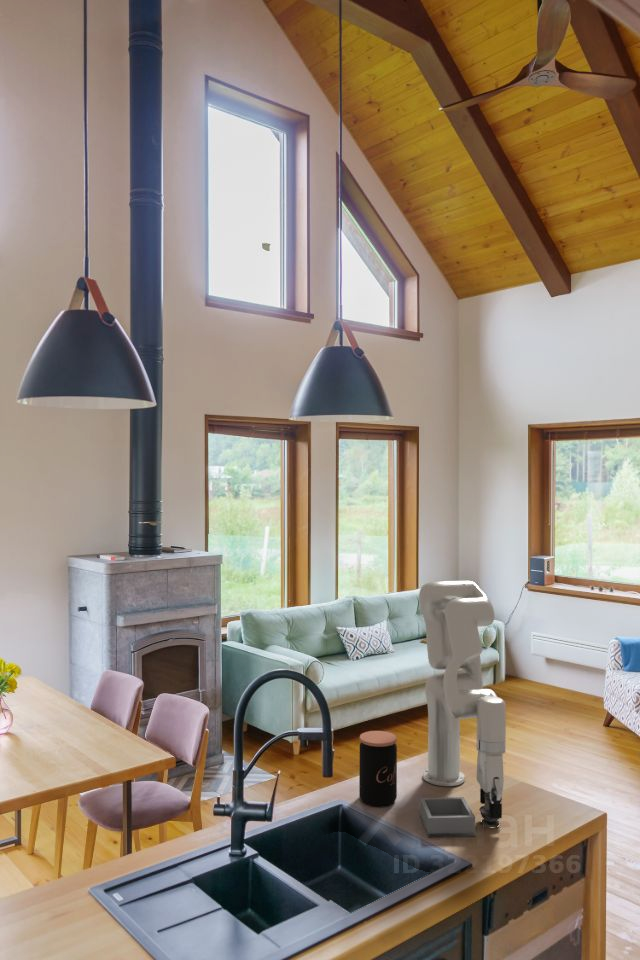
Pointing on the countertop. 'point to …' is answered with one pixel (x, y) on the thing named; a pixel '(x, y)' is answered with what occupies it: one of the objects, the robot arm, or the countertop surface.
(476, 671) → the robot arm
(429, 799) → the bin
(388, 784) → the coffee jar
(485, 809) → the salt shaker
